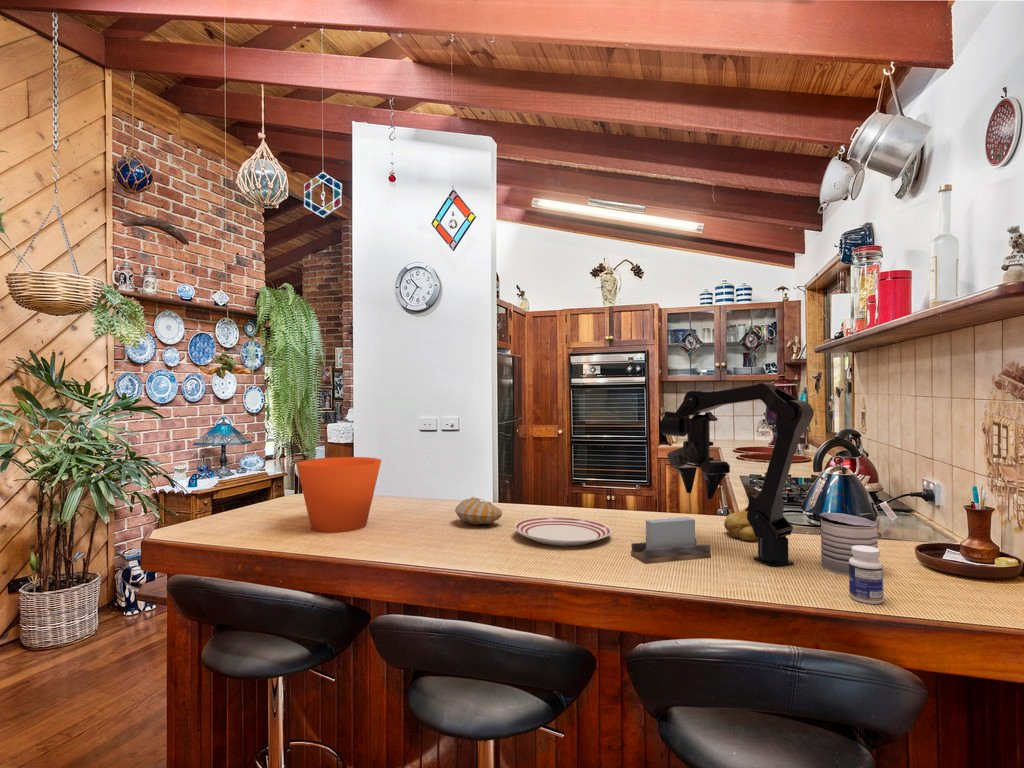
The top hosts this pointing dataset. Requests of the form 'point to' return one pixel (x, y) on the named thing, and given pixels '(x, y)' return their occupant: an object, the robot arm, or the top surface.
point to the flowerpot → (338, 491)
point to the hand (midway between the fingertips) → (698, 496)
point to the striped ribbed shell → (477, 511)
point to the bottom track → (669, 553)
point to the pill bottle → (866, 575)
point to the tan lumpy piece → (739, 525)
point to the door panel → (670, 533)
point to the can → (844, 539)
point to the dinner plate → (562, 530)
